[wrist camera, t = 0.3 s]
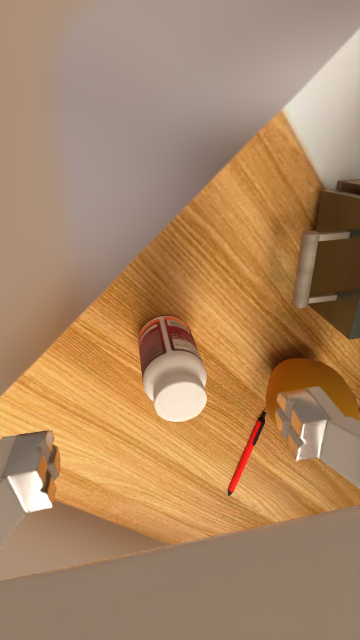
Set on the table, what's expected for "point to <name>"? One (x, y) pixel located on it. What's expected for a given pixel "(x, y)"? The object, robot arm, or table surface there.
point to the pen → (247, 453)
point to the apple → (310, 385)
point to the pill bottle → (172, 369)
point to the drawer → (332, 263)
